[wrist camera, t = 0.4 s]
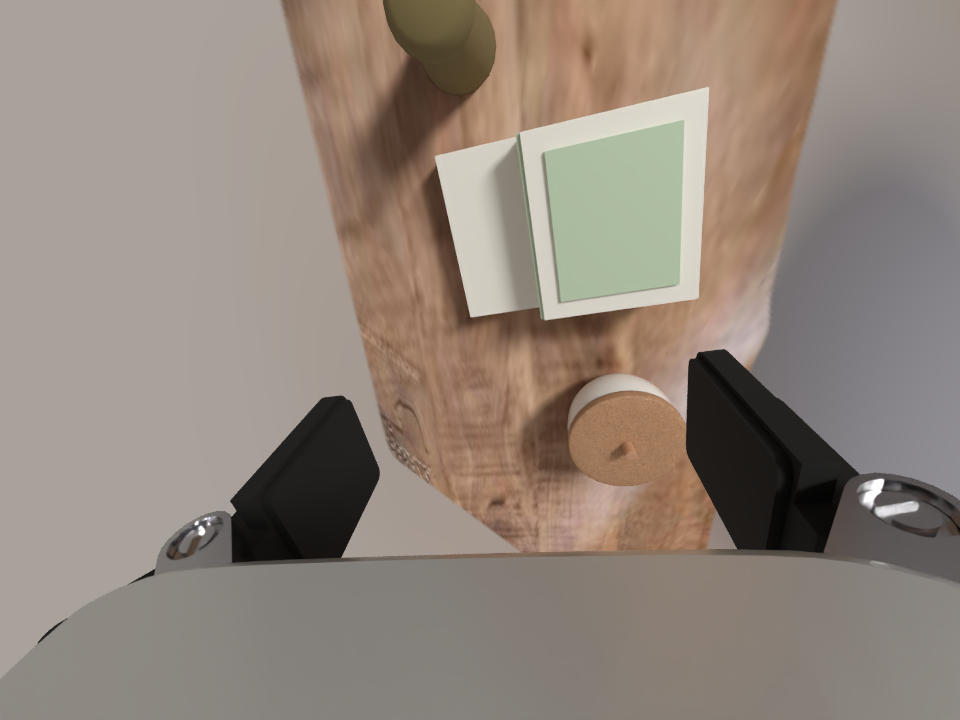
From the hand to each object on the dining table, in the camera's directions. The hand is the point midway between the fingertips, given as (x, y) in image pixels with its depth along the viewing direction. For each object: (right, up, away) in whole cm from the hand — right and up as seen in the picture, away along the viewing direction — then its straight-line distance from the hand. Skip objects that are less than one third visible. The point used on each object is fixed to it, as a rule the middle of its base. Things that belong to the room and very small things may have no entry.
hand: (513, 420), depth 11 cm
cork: (-3, +26, +19) cm, 33 cm away
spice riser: (+7, +15, +24) cm, 29 cm away
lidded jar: (+14, -3, +32) cm, 35 cm away
